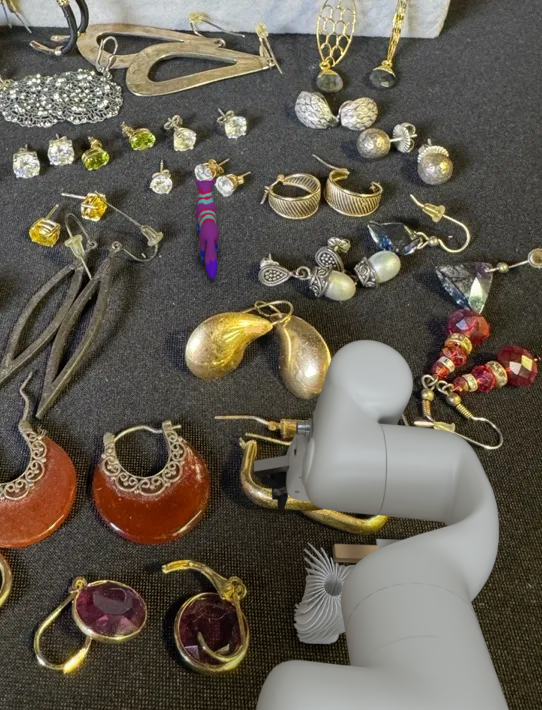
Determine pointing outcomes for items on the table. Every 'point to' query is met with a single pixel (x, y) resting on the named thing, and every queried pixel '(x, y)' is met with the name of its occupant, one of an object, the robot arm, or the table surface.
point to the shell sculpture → (321, 602)
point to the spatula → (357, 550)
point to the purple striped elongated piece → (207, 226)
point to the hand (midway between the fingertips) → (321, 499)
